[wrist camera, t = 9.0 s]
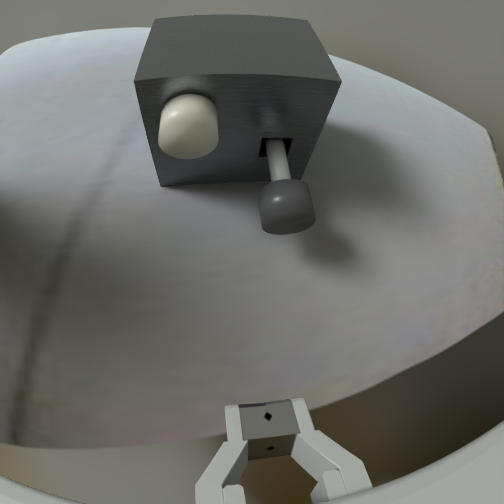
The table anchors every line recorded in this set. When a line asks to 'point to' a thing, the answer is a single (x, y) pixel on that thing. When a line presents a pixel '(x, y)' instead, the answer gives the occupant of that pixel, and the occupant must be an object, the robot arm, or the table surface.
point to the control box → (237, 91)
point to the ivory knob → (188, 127)
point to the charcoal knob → (283, 195)
